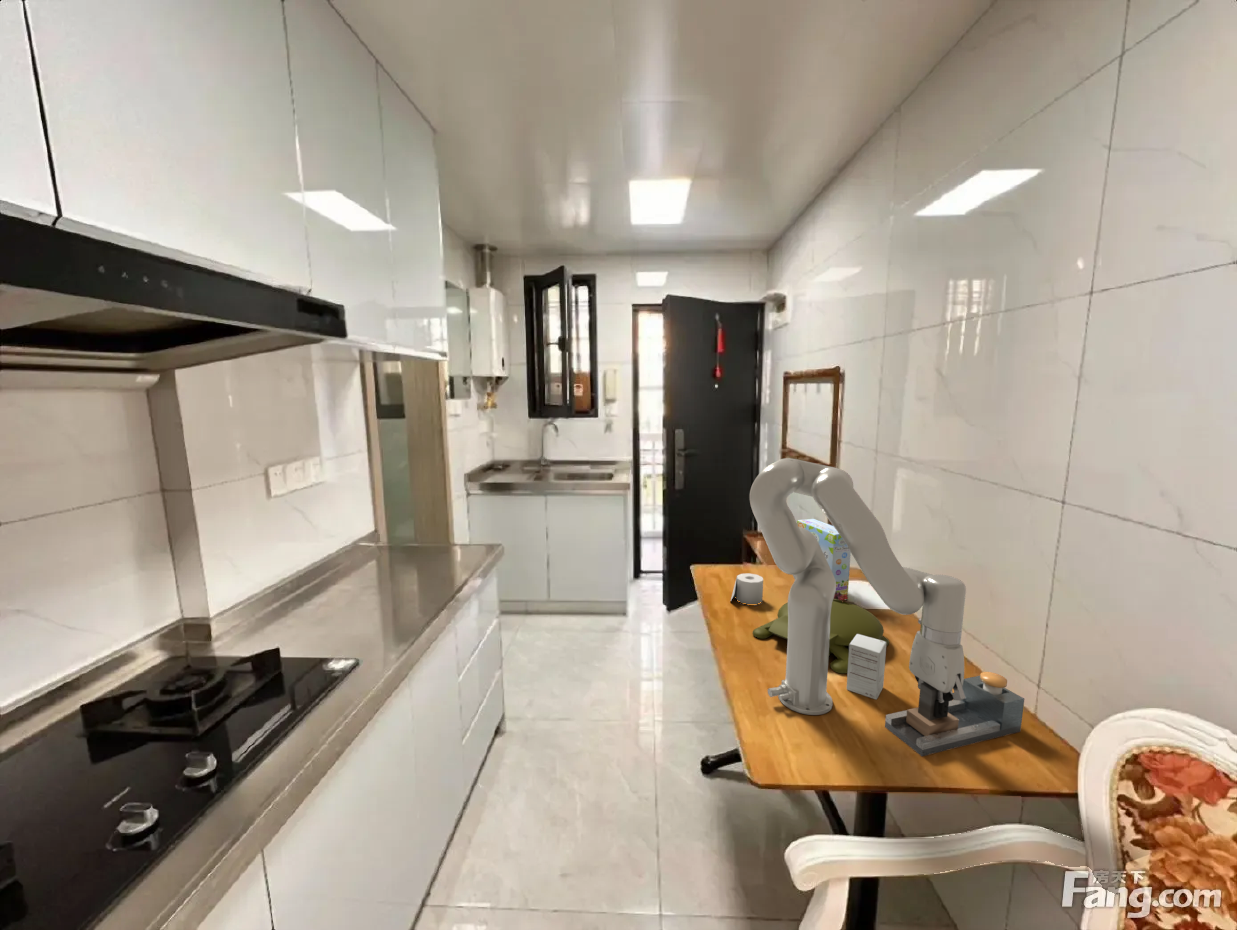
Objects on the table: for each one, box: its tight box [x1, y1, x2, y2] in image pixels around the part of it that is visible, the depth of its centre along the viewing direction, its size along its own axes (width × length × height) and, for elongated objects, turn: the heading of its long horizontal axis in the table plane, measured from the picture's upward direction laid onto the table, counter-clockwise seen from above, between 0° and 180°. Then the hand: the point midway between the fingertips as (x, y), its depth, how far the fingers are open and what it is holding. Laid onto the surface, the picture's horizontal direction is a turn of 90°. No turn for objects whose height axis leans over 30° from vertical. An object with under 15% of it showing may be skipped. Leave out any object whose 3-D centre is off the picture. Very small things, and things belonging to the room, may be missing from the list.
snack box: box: [796, 518, 852, 601], centre depth 197 cm, size 22×9×26 cm, turn 17°
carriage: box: [906, 682, 959, 736], centre depth 115 cm, size 8×6×10 cm
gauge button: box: [979, 671, 1008, 695], centre depth 120 cm, size 5×5×8 cm
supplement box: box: [846, 634, 887, 700], centre depth 132 cm, size 7×7×13 cm
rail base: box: [884, 675, 1025, 757], centre depth 117 cm, size 28×10×8 cm, turn 107°
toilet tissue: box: [730, 573, 764, 604], centre depth 187 cm, size 9×13×9 cm
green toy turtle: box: [752, 599, 890, 675], centre depth 161 cm, size 35×31×10 cm
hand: (932, 710), depth 115 cm, fingers closed on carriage, 3 cm apart
